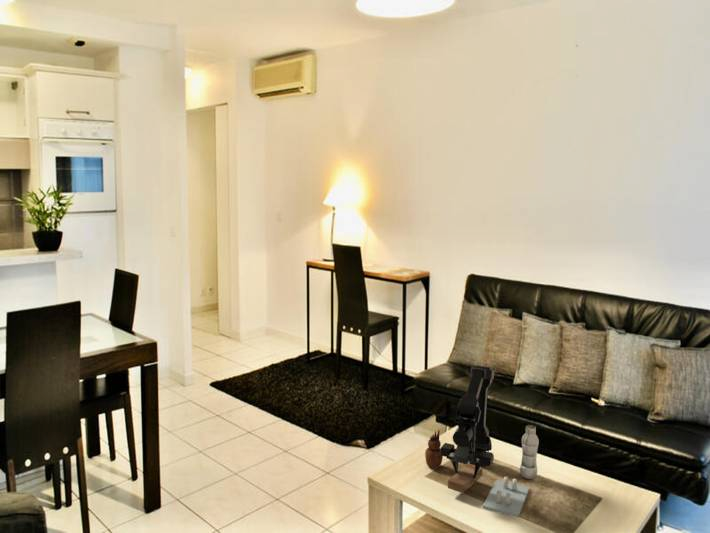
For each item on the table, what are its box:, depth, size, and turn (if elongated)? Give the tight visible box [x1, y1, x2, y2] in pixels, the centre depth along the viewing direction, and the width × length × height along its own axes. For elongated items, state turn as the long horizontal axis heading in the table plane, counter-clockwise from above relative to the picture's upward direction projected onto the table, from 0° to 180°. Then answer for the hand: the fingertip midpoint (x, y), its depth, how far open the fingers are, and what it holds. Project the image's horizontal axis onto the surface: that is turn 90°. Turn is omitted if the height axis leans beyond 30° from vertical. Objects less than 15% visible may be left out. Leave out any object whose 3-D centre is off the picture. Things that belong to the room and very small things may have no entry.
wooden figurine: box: [425, 429, 444, 469], centre depth 225 cm, size 7×6×15 cm
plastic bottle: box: [519, 424, 540, 480], centre depth 217 cm, size 6×7×20 cm
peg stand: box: [482, 476, 530, 518], centre depth 202 cm, size 20×12×5 cm, turn 153°
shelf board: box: [447, 463, 484, 494], centre depth 209 cm, size 16×6×3 cm, turn 143°
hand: (465, 476), depth 209 cm, fingers closed on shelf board, 6 cm apart
